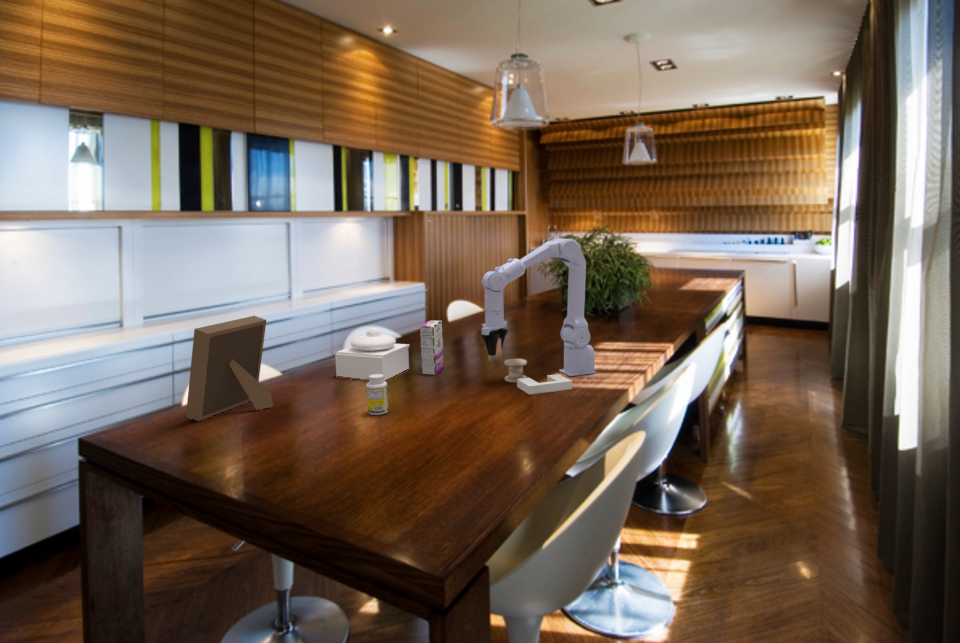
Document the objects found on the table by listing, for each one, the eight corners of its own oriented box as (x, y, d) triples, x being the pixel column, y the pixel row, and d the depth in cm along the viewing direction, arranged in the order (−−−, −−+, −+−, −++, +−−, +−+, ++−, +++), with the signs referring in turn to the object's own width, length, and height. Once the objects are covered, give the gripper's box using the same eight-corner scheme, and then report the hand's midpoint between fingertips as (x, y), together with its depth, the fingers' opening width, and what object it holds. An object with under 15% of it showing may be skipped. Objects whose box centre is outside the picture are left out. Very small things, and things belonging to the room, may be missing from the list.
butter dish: (336, 378, 212) (333, 330, 210) (366, 366, 229) (364, 321, 226) (383, 382, 206) (380, 333, 203) (410, 369, 222) (408, 324, 219)
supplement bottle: (379, 408, 179) (377, 372, 177) (392, 411, 175) (391, 375, 173) (363, 413, 175) (361, 376, 173) (377, 417, 171) (375, 379, 169)
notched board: (558, 381, 202) (558, 374, 201) (572, 389, 193) (572, 380, 193) (517, 386, 197) (517, 378, 196) (529, 394, 189) (529, 386, 188)
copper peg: (498, 357, 205) (498, 336, 204) (503, 360, 201) (503, 338, 200) (486, 359, 203) (486, 337, 202) (491, 361, 200) (491, 339, 198)
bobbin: (521, 375, 210) (521, 357, 209) (530, 381, 203) (530, 362, 202) (501, 378, 207) (501, 359, 206) (509, 383, 201) (509, 364, 200)
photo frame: (186, 420, 171) (177, 327, 167) (244, 398, 191) (238, 314, 187) (229, 427, 166) (222, 331, 161) (285, 403, 186) (280, 317, 181)
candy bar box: (430, 366, 225) (428, 320, 222) (444, 367, 224) (442, 320, 221) (421, 375, 214) (419, 326, 211) (435, 375, 213) (434, 326, 210)
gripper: (492, 306, 208) (492, 348, 210) (472, 313, 195) (473, 357, 197) (512, 307, 205) (513, 349, 207) (493, 314, 192) (494, 359, 194)
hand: (495, 353), depth 202 cm, fingers closed on copper peg, 4 cm apart
